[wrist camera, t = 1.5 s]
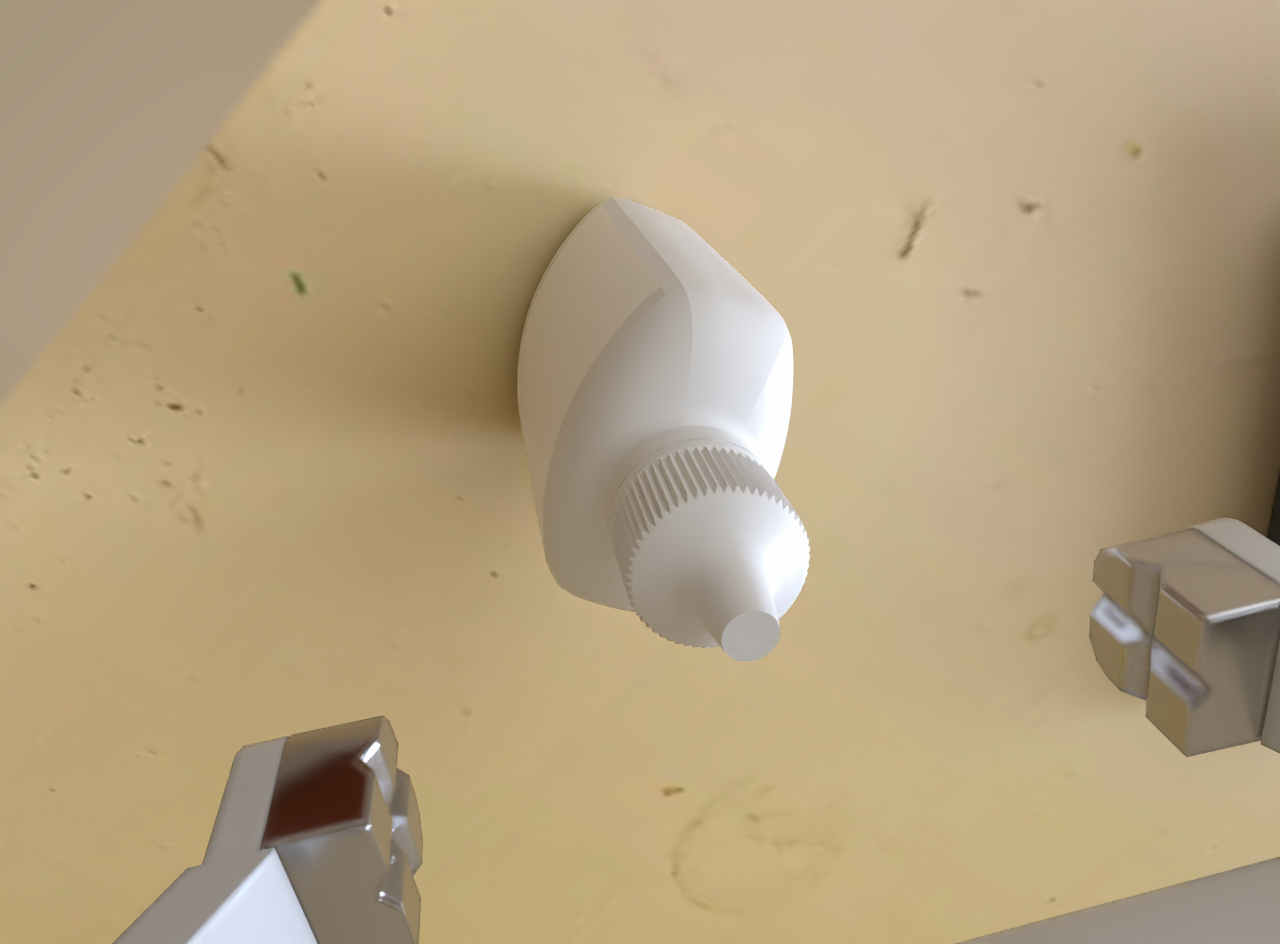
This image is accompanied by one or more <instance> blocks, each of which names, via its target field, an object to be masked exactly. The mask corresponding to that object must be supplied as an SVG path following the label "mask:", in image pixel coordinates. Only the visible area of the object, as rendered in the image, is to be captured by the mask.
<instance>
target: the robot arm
mask: <svg viewBox="0 0 1280 944" xmlns="http://www.w3.org/2000/svg"><path fill="white" fill-rule="evenodd" d="M1092 581H1093V582H1094V583H1095V584H1096V585H1097V586H1098V587H1099V589H1100V590H1101V591H1102V592H1103V593H1104V594H1103V595H1102V597H1101V598H1100V600H1099V601H1098V602H1097V604H1096V605H1095V607H1094V608H1093V609H1092V611H1091V612H1090V633H1089V637H1090V641H1091V644H1092V647H1093V651H1094V654H1095V657H1096V660H1097V662H1098V663H1099V665H1100V667H1101V668H1102V670H1103V672H1104V673H1105V675H1106V676H1107V677H1108V678H1109V680H1110V681H1111V682H1112V683H1113V684H1114V685H1115V686H1116V687H1117V688H1118V689H1119V690H1120V691H1122V692H1125V693H1127V694H1130V695H1133V696H1135V697H1138V698H1141V699H1143V700H1146V717H1147V718H1148V719H1149V720H1150V721H1151V722H1152V723H1153V724H1154V725H1155V726H1156V727H1157V728H1158V729H1159V730H1160V731H1161V732H1162V733H1163V734H1164V735H1165V736H1166V737H1167V738H1168V739H1169V740H1170V741H1171V742H1172V743H1173V744H1174V745H1175V746H1176V747H1177V748H1178V749H1179V750H1180V751H1181V752H1182V753H1183V754H1184V755H1185V756H1186V757H1189V756H1194V755H1198V754H1203V753H1207V752H1211V751H1216V750H1220V749H1225V748H1229V747H1234V746H1238V745H1243V744H1247V743H1251V742H1256V741H1260V740H1261V745H1263V746H1266V747H1268V748H1270V749H1272V750H1274V751H1276V752H1278V753H1280V546H1279V545H1277V544H1276V543H1274V542H1272V541H1271V540H1269V539H1268V538H1266V537H1265V536H1263V535H1261V534H1260V533H1258V532H1257V531H1255V530H1253V529H1252V528H1250V527H1249V526H1247V525H1246V524H1244V523H1242V522H1241V521H1239V520H1235V519H1230V518H1225V517H1223V518H1219V519H1216V520H1212V521H1208V522H1204V523H1200V524H1197V525H1193V526H1189V527H1185V528H1183V529H1182V530H1179V531H1175V532H1171V533H1167V534H1162V535H1158V536H1154V537H1150V538H1146V539H1141V540H1137V541H1133V542H1129V543H1125V544H1120V545H1116V546H1112V547H1108V548H1104V549H1100V551H1099V553H1098V555H1097V557H1096V559H1095V561H1094V569H1093V580H1092ZM397 757H398V742H397V739H396V737H395V734H394V732H393V729H392V726H391V724H390V721H389V720H388V719H387V718H386V717H384V716H379V717H374V718H369V719H364V720H360V721H355V722H350V723H345V724H341V725H336V726H331V727H326V728H322V729H317V730H312V731H307V732H303V733H298V734H293V735H291V736H290V737H288V736H285V737H281V738H276V739H272V740H267V741H263V742H259V743H254V744H250V745H245V746H243V747H242V748H241V749H240V750H239V751H238V752H237V753H236V755H235V757H234V760H233V763H232V767H231V770H230V773H229V777H228V780H227V783H226V787H225V790H224V793H223V796H222V800H221V803H220V806H219V810H218V813H217V816H216V820H215V823H214V826H213V829H212V833H211V836H210V839H209V843H208V846H207V849H206V853H205V856H204V859H203V862H202V865H199V866H195V867H191V868H187V869H186V870H185V871H184V872H183V873H182V874H181V875H180V876H179V877H178V878H177V879H176V880H175V881H174V882H173V883H172V884H171V885H170V886H169V887H168V888H167V889H166V890H165V891H164V892H163V893H162V894H161V895H160V896H159V897H158V898H157V899H156V900H155V901H154V902H153V903H152V904H151V905H150V906H149V907H148V908H147V909H146V910H145V911H144V912H143V913H142V914H141V915H140V916H139V917H138V918H137V919H136V920H135V921H134V922H133V923H132V924H131V925H130V926H129V927H128V928H127V929H126V930H125V931H124V932H123V933H122V934H121V935H120V936H119V937H118V938H117V939H116V940H115V941H114V942H113V943H112V944H419V929H420V907H421V897H420V894H419V892H418V889H417V886H416V883H415V880H414V878H413V875H414V874H415V873H416V871H417V870H418V869H419V867H420V866H421V864H422V850H423V839H422V830H421V820H420V812H419V808H418V804H417V799H416V795H415V791H414V788H413V785H412V782H411V779H410V776H409V775H408V774H406V773H404V772H403V771H401V770H399V769H398V768H397ZM955 944H1280V857H1277V858H1273V859H1269V860H1265V861H1262V862H1258V863H1254V864H1250V865H1247V866H1243V867H1239V868H1235V869H1232V870H1228V871H1224V872H1220V873H1217V874H1213V875H1209V876H1205V877H1202V878H1198V879H1194V880H1190V881H1187V882H1183V883H1179V884H1175V885H1172V886H1168V887H1164V888H1160V889H1157V890H1153V891H1149V892H1145V893H1142V894H1138V895H1134V896H1130V897H1127V898H1123V899H1119V900H1115V901H1112V902H1108V903H1104V904H1100V905H1097V906H1093V907H1089V908H1085V909H1082V910H1078V911H1074V912H1070V913H1067V914H1063V915H1059V916H1055V917H1052V918H1048V919H1044V920H1041V921H1037V922H1033V923H1029V924H1026V925H1022V926H1018V927H1015V928H1011V929H1007V930H1003V931H1000V932H996V933H992V934H988V935H985V936H981V937H977V938H974V939H970V940H966V941H962V942H959V943H955Z"/></svg>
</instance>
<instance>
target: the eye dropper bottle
mask: <svg viewBox="0 0 1280 944" xmlns="http://www.w3.org/2000/svg"><path fill="white" fill-rule="evenodd" d="M792 390H793V352H792V340H791V337H790V334H789V332H788V329H787V326H786V324H785V322H784V320H783V318H782V316H781V315H780V314H779V313H778V312H777V311H776V310H775V309H774V308H773V307H772V306H771V305H770V303H769V302H768V301H767V300H766V299H765V298H764V297H763V296H762V295H761V294H760V293H759V292H758V291H757V290H756V289H755V288H754V287H753V286H752V285H751V284H749V283H748V282H747V281H746V280H745V279H744V278H743V277H742V276H741V275H740V274H739V273H738V272H737V271H736V270H735V269H734V268H733V267H732V266H731V265H730V264H729V263H728V262H727V261H726V260H724V259H723V258H722V257H721V256H720V255H719V254H718V253H717V252H716V251H715V250H714V249H713V248H712V247H711V246H710V245H709V244H708V243H706V242H705V241H704V240H703V239H702V238H701V237H700V236H699V235H698V234H697V233H696V232H695V231H694V230H692V229H691V228H690V227H689V226H688V225H686V224H685V223H684V222H683V221H681V220H679V219H677V218H674V217H672V216H670V215H668V214H665V213H663V212H660V211H658V210H655V209H652V208H650V207H647V206H645V205H642V204H640V203H637V202H634V201H631V200H628V199H625V198H609V199H607V200H605V201H603V202H601V203H599V204H597V205H596V206H595V207H594V208H593V209H592V210H591V211H590V212H589V213H588V214H587V215H586V216H585V217H584V218H583V219H582V220H581V221H580V222H579V223H578V224H577V226H576V227H575V228H574V229H573V230H572V232H571V233H570V234H569V235H568V237H567V238H566V239H565V241H564V242H563V244H562V245H561V246H560V248H559V249H558V251H557V252H556V254H555V255H554V257H553V259H552V260H551V262H550V263H549V265H548V267H547V269H546V271H545V273H544V274H543V276H542V278H541V280H540V283H539V285H538V287H537V289H536V292H535V294H534V297H533V299H532V302H531V304H530V307H529V310H528V314H527V317H526V321H525V324H524V328H523V333H522V338H521V344H520V351H519V358H518V371H517V394H518V407H519V413H520V420H521V426H522V432H523V438H524V444H525V449H526V455H527V461H528V467H529V473H530V479H531V484H532V490H533V495H534V501H535V506H536V512H537V517H538V523H539V528H540V533H541V538H542V543H543V547H544V552H545V556H546V561H547V564H548V566H549V568H550V571H551V573H552V575H553V576H554V578H555V580H556V582H557V583H558V585H559V586H560V587H561V588H563V589H564V590H566V591H568V592H569V593H571V594H572V595H574V596H576V597H579V598H582V599H585V600H587V601H590V602H593V603H597V604H601V605H604V606H608V607H612V608H617V609H621V610H626V611H633V612H635V613H636V615H638V616H639V617H640V620H641V621H642V622H645V624H646V627H648V628H651V629H652V631H653V632H654V633H658V634H659V635H660V637H664V638H667V640H668V641H674V642H675V643H676V644H684V646H692V647H701V648H706V647H711V648H712V647H721V648H722V649H723V650H724V652H725V653H726V654H727V655H728V656H729V657H731V658H733V659H735V660H738V661H754V660H757V659H760V658H762V657H764V656H766V655H767V654H768V653H770V652H771V651H772V650H773V649H774V647H775V646H776V645H777V643H778V641H779V638H780V625H779V620H778V619H780V617H781V616H782V615H783V614H784V613H786V611H787V609H789V608H790V607H791V606H792V603H793V602H794V601H795V600H796V598H797V595H798V594H799V592H800V591H801V590H802V589H801V587H802V586H803V584H804V583H805V580H804V579H805V577H806V576H807V574H808V572H807V569H808V567H809V563H808V561H809V559H810V555H809V550H810V547H809V546H808V542H809V539H808V538H807V536H806V533H807V532H806V530H805V529H804V527H803V523H802V521H801V520H800V518H799V516H798V515H797V513H796V512H795V510H794V509H793V507H792V506H791V504H790V503H789V501H788V500H787V498H786V497H785V495H784V494H783V492H782V491H781V489H780V488H779V487H778V485H777V484H776V482H775V481H774V478H775V475H776V472H777V470H778V466H779V463H780V459H781V456H782V452H783V449H784V445H785V440H786V435H787V430H788V425H789V418H790V412H791V403H792Z"/></svg>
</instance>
